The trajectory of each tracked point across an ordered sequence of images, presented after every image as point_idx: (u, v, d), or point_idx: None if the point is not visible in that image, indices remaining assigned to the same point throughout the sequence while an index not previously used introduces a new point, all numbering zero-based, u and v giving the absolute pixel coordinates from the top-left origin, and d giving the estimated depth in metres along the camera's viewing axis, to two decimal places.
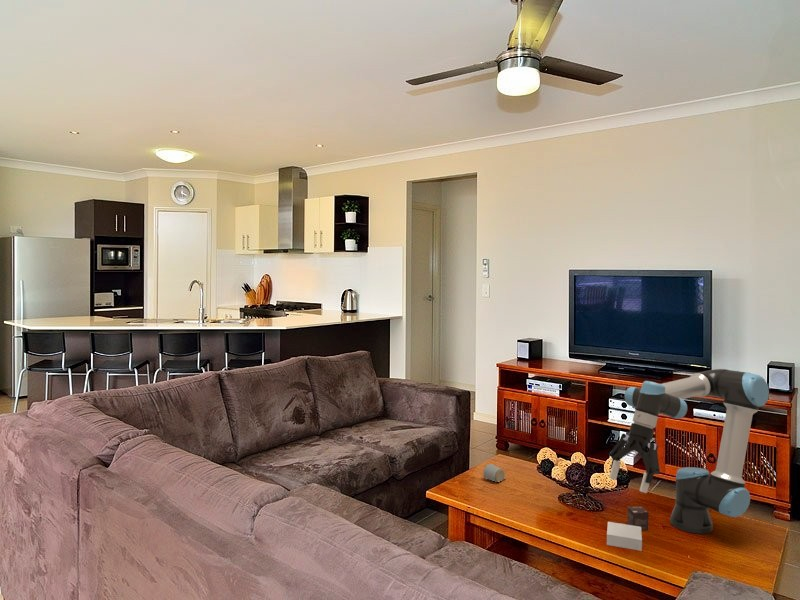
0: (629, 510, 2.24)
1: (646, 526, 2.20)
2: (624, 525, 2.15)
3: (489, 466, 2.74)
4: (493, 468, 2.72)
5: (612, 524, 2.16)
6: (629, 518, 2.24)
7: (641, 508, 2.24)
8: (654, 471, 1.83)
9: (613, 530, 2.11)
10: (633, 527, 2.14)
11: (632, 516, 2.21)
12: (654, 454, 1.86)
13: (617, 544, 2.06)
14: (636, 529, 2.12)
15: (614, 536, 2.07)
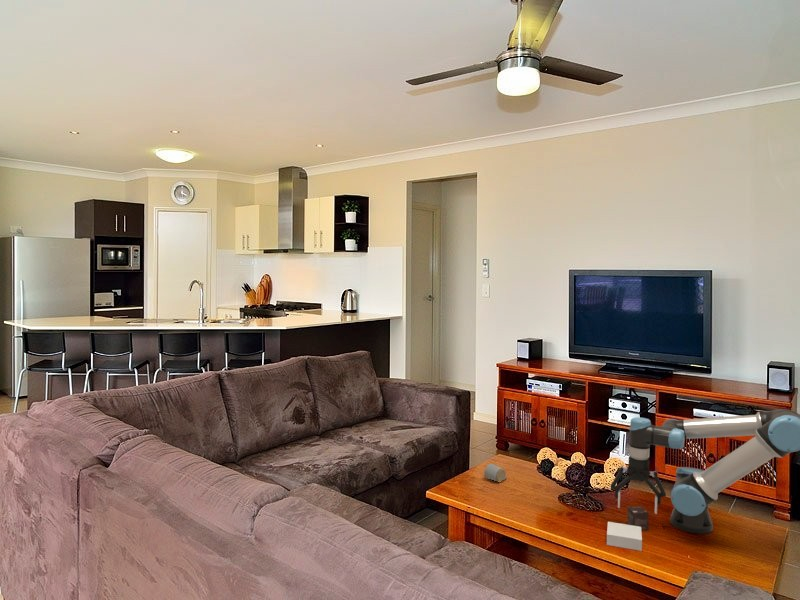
0: (629, 510, 2.24)
1: (646, 526, 2.20)
2: (624, 525, 2.15)
3: (490, 466, 2.75)
4: (494, 468, 2.72)
5: (612, 524, 2.16)
6: (629, 518, 2.24)
7: (641, 508, 2.24)
8: None
9: (613, 530, 2.11)
10: (633, 527, 2.14)
11: (632, 516, 2.21)
12: (617, 474, 2.26)
13: (617, 544, 2.06)
14: (636, 529, 2.12)
15: (614, 536, 2.07)
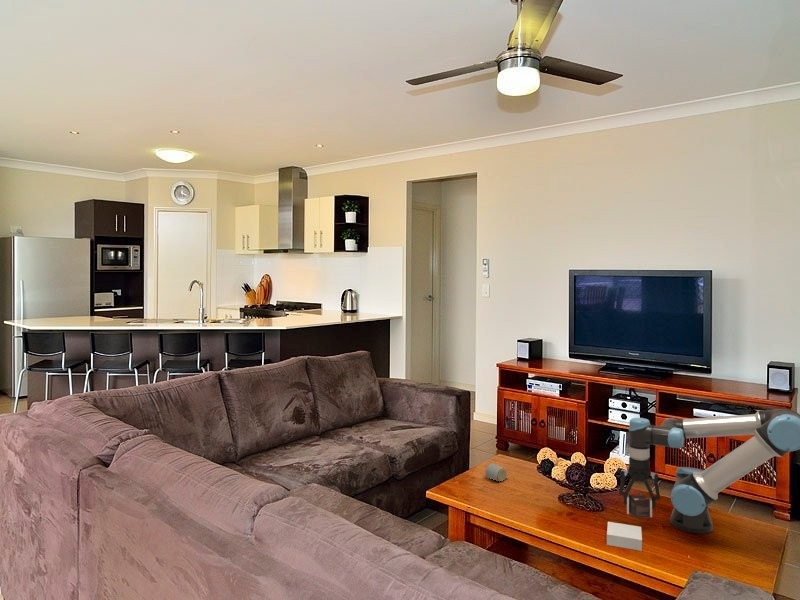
0: (630, 498, 2.23)
1: (648, 513, 2.20)
2: (624, 525, 2.15)
3: (491, 465, 2.75)
4: (495, 467, 2.73)
5: (612, 524, 2.16)
6: (631, 506, 2.23)
7: (642, 496, 2.23)
8: None
9: (613, 530, 2.11)
10: (633, 527, 2.14)
11: (633, 504, 2.21)
12: (621, 479, 2.25)
13: (617, 544, 2.06)
14: (636, 529, 2.12)
15: (614, 536, 2.07)
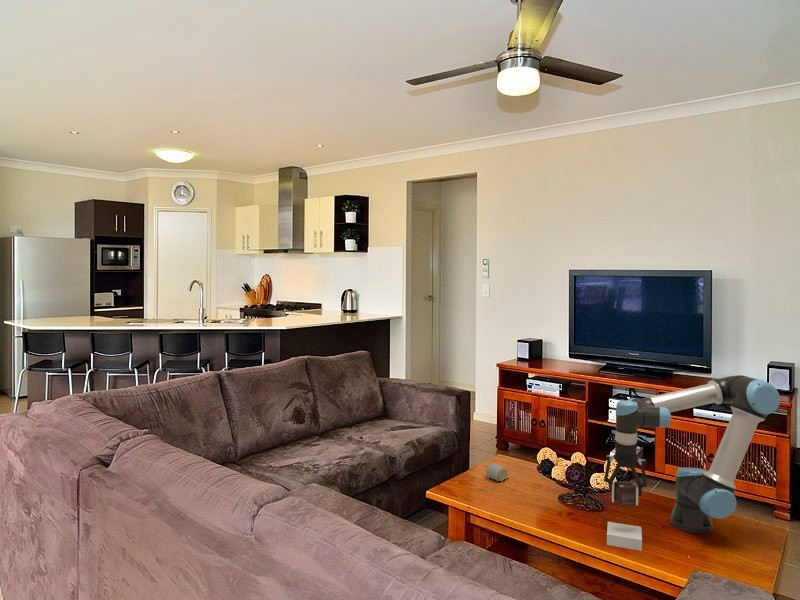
0: (616, 485, 2.11)
1: (633, 501, 2.08)
2: (624, 525, 2.15)
3: (492, 465, 2.75)
4: (496, 467, 2.73)
5: (612, 524, 2.16)
6: (616, 493, 2.11)
7: (628, 483, 2.11)
8: None
9: (613, 530, 2.11)
10: (633, 527, 2.14)
11: (619, 491, 2.09)
12: None
13: (617, 544, 2.06)
14: (636, 529, 2.12)
15: (614, 536, 2.07)
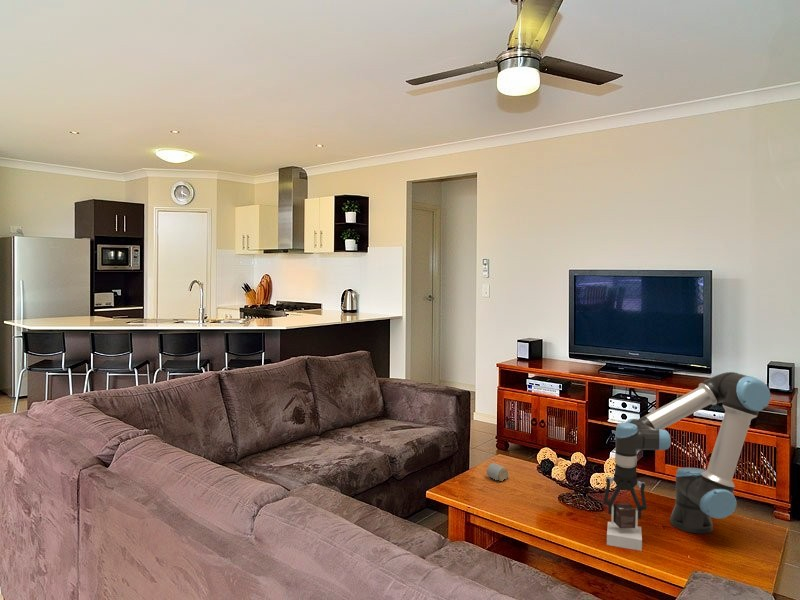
0: (615, 507, 2.12)
1: (633, 524, 2.08)
2: None
3: (492, 465, 2.76)
4: (496, 467, 2.73)
5: (612, 524, 2.16)
6: (615, 515, 2.11)
7: (628, 505, 2.12)
8: None
9: (613, 530, 2.11)
10: None
11: (618, 513, 2.09)
12: (606, 487, 2.13)
13: (617, 544, 2.06)
14: (636, 529, 2.12)
15: (614, 536, 2.07)
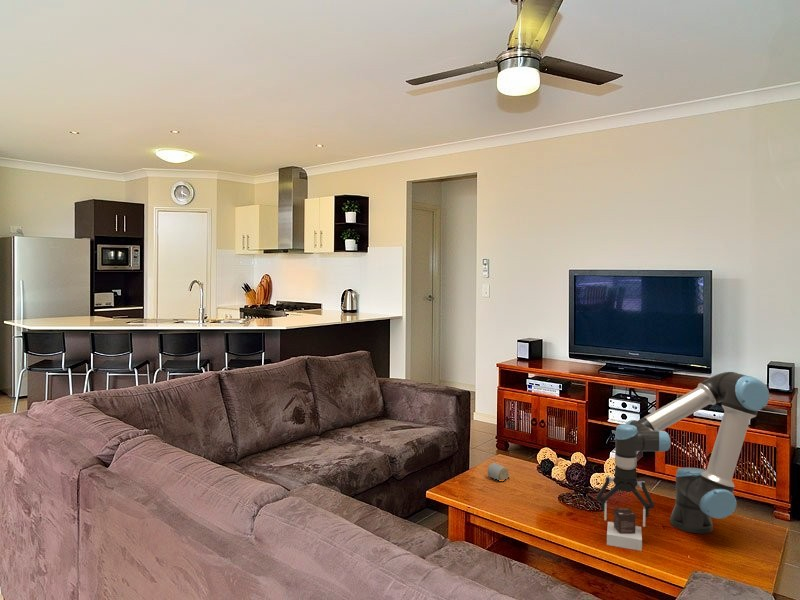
0: (615, 512, 2.12)
1: (633, 529, 2.08)
2: None
3: (493, 465, 2.76)
4: (497, 467, 2.74)
5: (612, 524, 2.16)
6: (615, 520, 2.12)
7: (628, 510, 2.12)
8: None
9: (613, 530, 2.11)
10: None
11: (618, 518, 2.09)
12: (603, 485, 2.14)
13: (617, 544, 2.06)
14: (636, 529, 2.12)
15: (614, 536, 2.07)
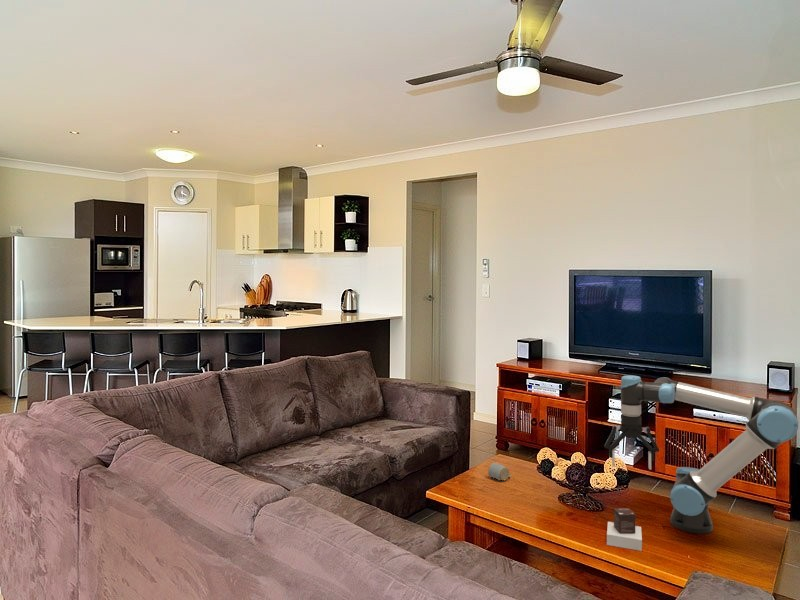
0: (615, 512, 2.12)
1: (633, 529, 2.08)
2: None
3: (494, 465, 2.76)
4: (498, 467, 2.74)
5: (612, 524, 2.16)
6: (615, 520, 2.12)
7: (628, 510, 2.12)
8: None
9: (613, 530, 2.11)
10: None
11: (618, 518, 2.09)
12: None
13: (617, 544, 2.06)
14: (636, 529, 2.12)
15: (614, 536, 2.07)
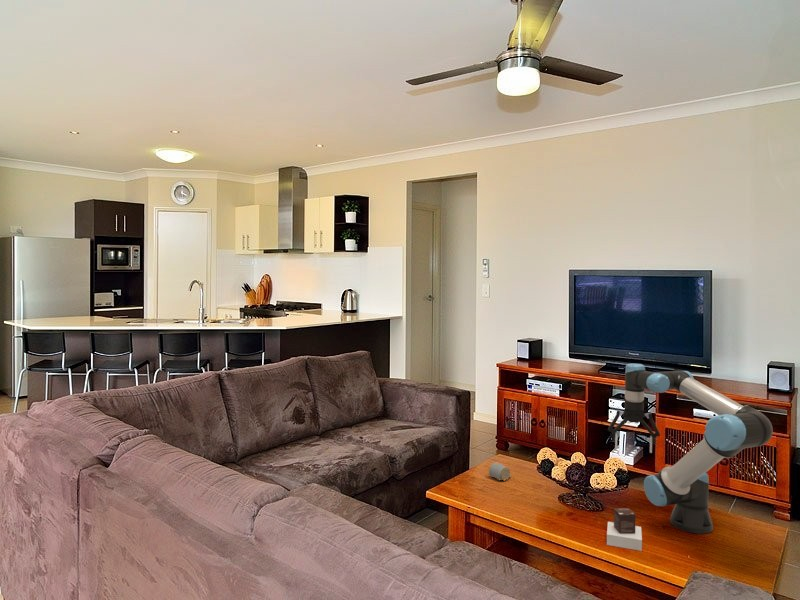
0: (615, 512, 2.12)
1: (633, 529, 2.08)
2: None
3: (495, 464, 2.77)
4: (498, 466, 2.74)
5: (612, 524, 2.16)
6: (615, 520, 2.12)
7: (628, 510, 2.12)
8: None
9: (613, 530, 2.11)
10: None
11: (618, 518, 2.09)
12: None
13: (617, 544, 2.06)
14: (636, 529, 2.12)
15: (614, 536, 2.07)
